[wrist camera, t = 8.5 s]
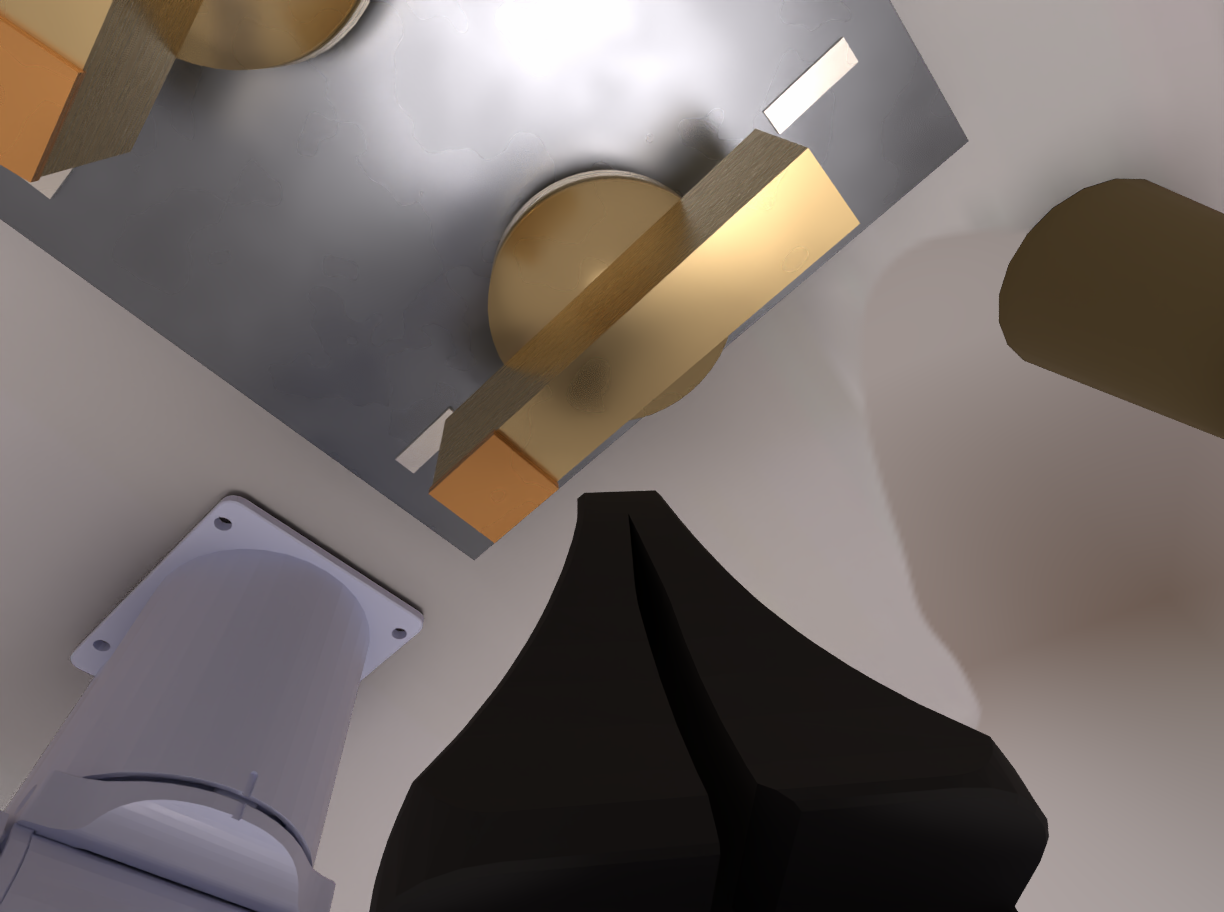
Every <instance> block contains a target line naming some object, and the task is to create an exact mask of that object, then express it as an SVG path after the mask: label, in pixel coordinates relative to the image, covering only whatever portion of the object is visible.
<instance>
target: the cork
mask: <svg viewBox="0 0 1224 912" xmlns="http://www.w3.org/2000/svg"><path fill="white" fill-rule="evenodd" d="M999 323H1000V326H1001V329H1002V331H1003V333H1004V336H1005V339H1006V342H1007V344H1008V345H1009V347H1011V348H1012V349H1013V350H1014V351H1015V352H1016V353H1017V354H1018V355H1019V356H1020V357H1021V358H1022V359H1023V360H1024V361H1027V362H1029V363H1031V364H1034V365H1037V366H1039V367H1042V368H1044V369H1047V370H1049V371H1052V372H1055V373H1057V374H1060V375H1062V376H1065V377H1067V378H1070V379H1072V380H1075V381H1078V382H1080V383H1082V384H1085V385H1088V386H1090V387H1092V388H1095V389H1098V390H1100V391H1103V392H1105V393H1108V394H1110V395H1113V396H1115V397H1118V398H1120V399H1123V400H1126V401H1128V402H1131V403H1133V404H1136V405H1139V406H1141V407H1143V408H1146V409H1149V410H1151V411H1154V412H1156V413H1159V414H1161V415H1164V416H1166V417H1169V418H1172V419H1174V420H1176V421H1179V422H1182V423H1184V424H1187V425H1189V426H1192V427H1194V428H1197V429H1199V430H1202V431H1204V432H1207V433H1210V434H1212V435H1215V436H1217V437H1220V438H1222V439H1224V214H1223V213H1221V212H1219V211H1216V210H1214V209H1212V208H1209V207H1207V206H1205V205H1203V204H1200V203H1198V202H1196V201H1193V200H1191V199H1189V198H1187V197H1184V196H1182V195H1180V194H1177V193H1175V192H1173V191H1170V190H1168V189H1166V188H1164V187H1161V186H1159V185H1157V184H1154V183H1152V182H1150V181H1148V180H1145V179H1113V180H1110V181H1107V182H1104V183H1101V184H1097V185H1094V186H1091V187H1088V188H1084V189H1083V190H1081V191H1079V192H1078V193H1076V194H1075V195H1073V196H1071V197H1070V198H1068V199H1067V200H1065V201H1064V202H1062V203H1060V204H1059V205H1057V206H1056V207H1054V208H1053V209H1052V210H1051V211H1050V212H1049V213H1048V214H1047V215H1046V216H1045V217H1044V218H1043V219H1042V220H1041V221H1040V222H1039V223H1038V224H1037V225H1036V226H1035V227H1034V228H1033V229H1032V230H1031V231H1030V232H1029V233H1028V234H1027V235H1026V237H1025V239H1024V240H1023V242H1022V244H1021V245H1020V247H1019V249H1018V250H1017V252H1016V253H1015V255H1014V257H1013V258H1012V260H1011V261H1010V263H1009V265H1008V268H1007V271H1006V275H1005V278H1004V281H1003V284H1002V287H1001V290H1000V294H999Z"/></svg>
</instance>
